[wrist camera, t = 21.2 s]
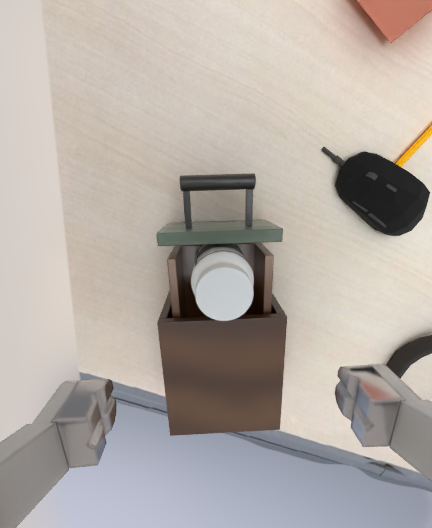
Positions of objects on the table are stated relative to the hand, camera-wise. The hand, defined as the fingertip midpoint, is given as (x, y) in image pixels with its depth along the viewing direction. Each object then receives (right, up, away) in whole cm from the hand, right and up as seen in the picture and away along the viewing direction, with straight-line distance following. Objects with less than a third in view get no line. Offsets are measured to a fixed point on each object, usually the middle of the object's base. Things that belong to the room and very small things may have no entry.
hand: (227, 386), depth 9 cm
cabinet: (0, -5, +25) cm, 26 cm away
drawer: (0, +5, +21) cm, 21 cm away
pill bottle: (0, +5, +20) cm, 21 cm away
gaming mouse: (+18, +13, +20) cm, 30 cm away
